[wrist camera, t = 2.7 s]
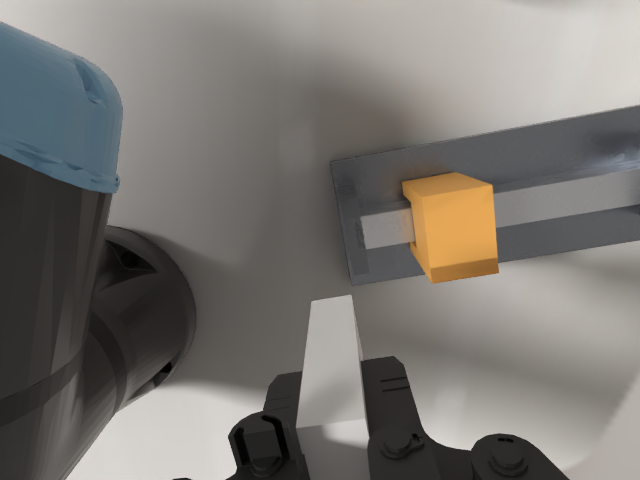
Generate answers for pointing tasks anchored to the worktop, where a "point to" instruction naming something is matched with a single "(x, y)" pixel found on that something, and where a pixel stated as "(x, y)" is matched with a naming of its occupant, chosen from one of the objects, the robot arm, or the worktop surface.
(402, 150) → the rail
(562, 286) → the worktop surface
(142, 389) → the robot arm
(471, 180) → the orange slider block
